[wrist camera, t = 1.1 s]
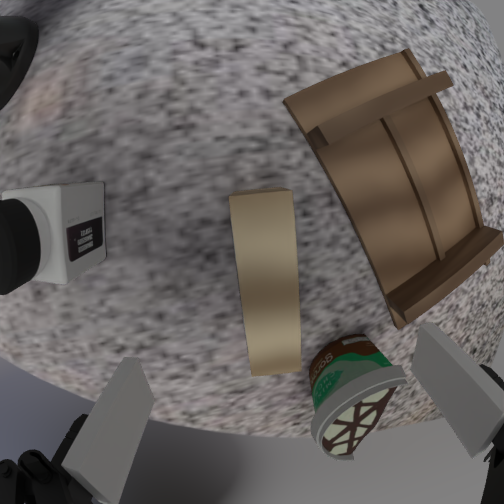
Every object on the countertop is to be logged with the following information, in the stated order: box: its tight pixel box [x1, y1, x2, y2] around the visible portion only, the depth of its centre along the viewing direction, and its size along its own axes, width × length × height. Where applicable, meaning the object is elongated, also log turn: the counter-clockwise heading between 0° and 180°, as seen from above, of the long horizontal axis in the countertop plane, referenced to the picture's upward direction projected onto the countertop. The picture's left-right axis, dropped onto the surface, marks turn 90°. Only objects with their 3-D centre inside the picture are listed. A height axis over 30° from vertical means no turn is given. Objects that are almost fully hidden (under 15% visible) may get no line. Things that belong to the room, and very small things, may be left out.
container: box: [0, 181, 106, 295], centre depth 18 cm, size 8×8×13 cm
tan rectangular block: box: [229, 187, 301, 377], centre depth 22 cm, size 14×4×7 cm, turn 6°
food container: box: [309, 334, 408, 461], centre depth 24 cm, size 12×6×10 cm, turn 169°
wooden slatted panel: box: [283, 48, 504, 330], centre depth 21 cm, size 26×15×5 cm, turn 31°
